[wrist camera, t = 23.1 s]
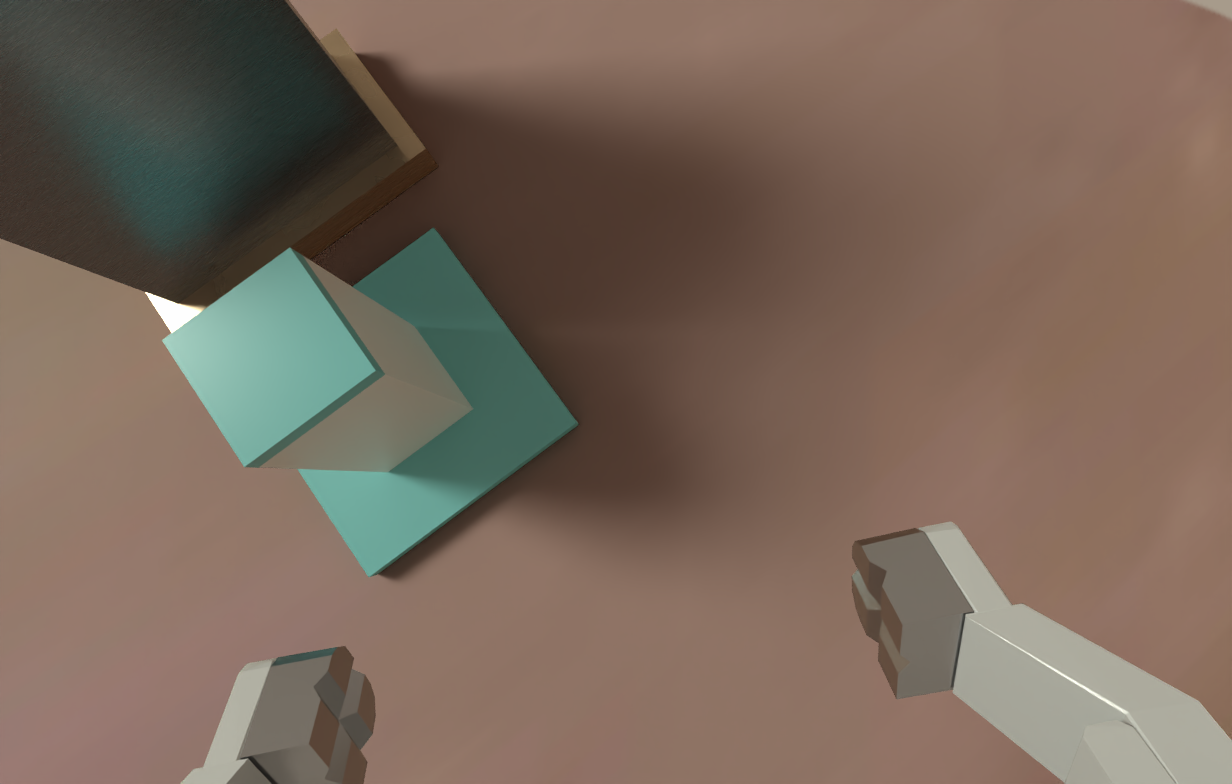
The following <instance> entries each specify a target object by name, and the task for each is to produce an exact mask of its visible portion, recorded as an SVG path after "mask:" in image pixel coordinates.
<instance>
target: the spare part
mask: <svg viewBox="0 0 1232 784" xmlns="http://www.w3.org/2000/svg"><path fill="white" fill-rule="evenodd" d="M162 341H163V343H164V344H165V346H166V347H167V349H168V350H169V352H170V353H171V355H172V356H173V358H174V359H175V361H176V363H177V364H178V366H179V367H180V369H181V370H182V372H183V373H184V375H185V376H186V378H187V379H188V381H189V383H190V384H191V386H192V387H193V389H194V390H195V392H196V393H197V395H198V396H199V398H200V400H201V401H202V403H203V404H204V406H205V407H206V409H207V410H208V412H209V413H210V415H211V416H212V418H213V420H214V421H215V423H216V424H217V426H218V427H219V429H220V430H221V432H222V433H223V435H224V437H225V438H226V440H227V441H228V443H229V444H230V446H231V447H232V449H233V450H234V452H235V453H236V455H237V457H238V458H239V460H240V461H241V463H242V464H243V466H244V467H256V468H284V469H311V470H339V471H366V472H389V471H390V470H392V469H393V468H394V467H396V466H397V465H398V464H400V463H401V462H402V461H404V460H405V459H406V458H408V457H409V456H411V455H412V454H413V453H415V452H416V451H417V450H419V449H420V448H421V447H423V446H424V445H425V444H427V443H428V442H429V441H431V440H432V439H434V438H435V437H436V436H438V435H439V434H440V433H442V432H443V431H444V430H446V429H447V428H448V427H450V426H451V425H452V424H454V423H455V422H457V421H458V420H459V419H461V418H462V417H463V416H465V415H466V414H467V413H469V412H470V411H471V410H473V408H472V406H471V405H470V403H469V402H468V401H467V399H466V398H465V396H464V395H463V394H462V392H461V391H460V389H459V388H458V387H457V385H456V384H455V382H454V381H453V380H452V378H451V377H450V375H449V374H448V373H447V371H446V370H445V368H444V367H443V366H442V364H441V363H440V361H439V360H438V358H437V357H436V356H435V354H434V353H433V351H432V350H431V349H430V347H429V346H428V344H427V343H426V342H425V340H424V339H423V337H422V336H421V335H420V333H419V332H418V330H417V329H416V328H415V326H413V325H412V324H410V323H408V322H407V321H405V320H404V319H402V318H400V317H399V316H397V315H396V314H394V313H393V312H391V311H389V310H388V309H386V308H385V307H383V306H382V305H380V304H378V303H377V302H375V301H374V300H372V299H371V298H369V297H367V296H366V295H364V294H363V293H361V292H360V291H358V290H356V289H355V288H353V287H352V286H350V285H348V284H347V283H345V282H344V281H342V280H341V279H339V278H337V277H336V276H334V275H333V274H331V273H330V272H328V271H326V270H325V269H323V268H322V267H320V266H319V265H317V264H315V263H314V262H312V261H311V260H309V259H307V258H306V257H304V256H303V255H301V254H300V253H298V252H296V251H295V250H293V249H292V248H288V249H287V250H286V251H284V252H283V253H281V254H280V255H279V256H277V257H276V258H275V259H273V260H272V261H270V262H269V263H268V264H266V265H265V266H264V267H262V268H261V269H259V270H258V271H257V272H255V273H254V274H253V275H251V276H250V277H248V278H247V279H246V280H244V281H243V282H242V283H240V284H239V285H237V286H236V287H235V288H233V289H232V290H231V291H229V292H228V293H226V294H225V295H224V296H222V297H221V298H220V299H218V300H217V301H215V302H214V303H213V304H211V305H210V306H209V307H207V308H206V309H204V310H203V311H202V312H200V313H199V314H198V315H196V316H195V317H193V318H192V319H191V320H189V321H188V322H186V323H185V324H184V325H182V326H181V327H180V328H178V329H177V330H175V331H174V332H173V333H171V334H170V335H169V336H167V337H166V338H164V339H163V340H162Z"/></svg>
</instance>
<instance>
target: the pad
mask: <svg viewBox="0 0 1232 784" xmlns="http://www.w3.org/2000/svg"><path fill="white" fill-rule="evenodd" d="M352 287H353V288H355V289H356V290H358V291H360V292H361V293H363V294H364V295H366V296H367V297H369V298H371V299H372V300H374V301H375V302H377V303H378V304H380V305H382V306H383V307H385V308H386V309H388V310H389V311H391V312H393V313H394V314H396V315H397V316H399V317H400V318H402V319H404V320H405V321H407V322H408V323H410V324H412V325H413V326H415V328H416V329H417V330H418V332H419V333H420V335H421V336H422V337H423V339H424V340H425V342H426V343H427V344H428V346H429V347H430V349H431V350H432V351H433V353H434V354H435V356H436V357H437V358H438V360H439V361H440V363H441V364H442V366H443V367H444V368H445V370H446V371H447V373H448V374H449V375H450V377H451V378H452V380H453V381H454V382H455V384H456V385H457V387H458V388H459V389H460V391H461V392H462V394H463V395H464V396H465V398H466V399H467V401H468V402H469V403H470V405H471V406H472V408H473V410H471V411H470V412H469V413H467V414H466V415H465V416H463V417H462V418H461V419H459V420H458V421H457V422H455V423H454V424H452V425H451V426H450V427H448V428H447V429H446V430H444V431H443V432H442V433H440V434H439V435H438V436H436V437H435V438H434V439H432V440H431V441H429V442H428V443H427V444H425V445H424V446H423V447H421V448H420V449H419V450H417V451H416V452H415V453H413V454H412V455H411V456H409V457H408V458H406V459H405V460H404V461H402V462H401V463H400V464H398V465H397V466H396V467H394V468H393V469H392V470H390V471H389V472H366V471H339V470H311V469H298V471H299V472H300V474H301V475H302V477H303V478H304V480H305V481H306V483H307V484H308V486H309V487H310V489H311V491H312V492H313V494H314V495H315V497H316V498H317V500H318V501H319V503H320V504H321V506H322V507H323V509H324V510H325V512H326V513H327V515H328V516H329V518H330V519H331V521H332V522H333V524H334V525H335V527H336V528H337V530H338V531H339V533H340V534H341V536H342V537H343V539H344V541H345V542H346V544H347V545H348V547H349V548H350V550H351V551H352V553H353V554H354V556H355V557H356V559H357V560H358V562H359V563H360V565H361V566H362V568H363V569H364V571H365V572H366V574H367V575H368V577H371V576H374V575H377V574H379V573H380V572H381V571H383V570H384V569H385V568H387V567H388V566H389V565H391V564H392V563H393V562H395V561H396V560H397V559H399V558H400V557H401V556H403V555H404V554H405V553H407V552H408V551H410V550H411V549H412V548H414V547H415V546H416V545H418V544H419V543H420V542H422V541H423V540H424V539H426V538H427V537H428V536H430V535H431V534H432V533H434V532H435V531H436V530H438V529H439V528H440V527H442V526H443V525H445V524H446V523H447V522H449V521H450V520H451V519H453V518H454V517H455V516H457V515H458V514H459V513H461V512H462V511H463V510H465V509H466V508H467V507H469V506H470V505H471V504H473V503H474V502H475V501H477V500H478V499H480V498H481V497H482V496H484V495H485V494H486V493H488V492H489V491H490V490H492V489H493V488H494V487H496V486H497V485H498V484H500V483H501V482H502V481H504V480H505V479H506V478H508V477H509V476H510V475H512V474H513V473H514V472H516V471H517V470H519V469H520V468H521V467H523V466H524V465H525V464H527V463H528V462H529V461H531V460H532V459H533V458H535V457H536V456H537V455H539V454H540V453H541V452H543V451H544V450H545V449H547V448H548V447H549V446H551V445H552V444H554V443H555V442H556V441H558V440H559V439H560V438H562V437H563V436H564V435H566V434H567V433H568V432H570V431H571V430H572V429H574V428H575V427H576V426H578V425H579V424H578V422H577V421H576V419H575V418H574V417H573V415H572V414H571V413H570V411H569V410H568V409H567V407H566V406H565V405H564V403H563V402H562V400H561V399H560V398H559V396H558V395H557V394H556V392H555V391H554V390H553V388H552V387H551V385H550V384H549V383H548V381H547V380H546V379H545V377H544V376H543V375H542V373H541V372H540V370H539V369H538V368H537V366H536V365H535V364H534V362H533V361H532V360H531V358H530V357H529V355H528V354H527V353H526V351H525V350H524V349H523V347H522V346H521V345H520V343H519V342H518V340H517V339H516V338H515V336H514V335H513V334H512V332H511V331H510V330H509V328H508V327H507V325H506V324H505V323H504V321H503V320H502V319H501V317H500V316H499V315H498V313H497V312H496V310H495V309H494V308H493V306H492V305H491V304H490V302H489V301H488V300H487V298H486V297H485V295H484V294H483V293H482V291H481V290H480V289H479V287H478V286H477V285H476V283H475V282H474V281H473V279H472V278H471V276H470V275H469V274H468V272H467V271H466V270H465V268H464V267H463V266H462V264H461V263H460V261H459V260H458V259H457V257H456V256H455V255H454V253H453V252H452V251H451V249H450V248H449V246H448V245H447V244H446V242H445V241H444V240H443V238H442V237H441V236H440V234H439V233H438V232H437V231H436V230H435V229H434V227H433V228H432V229H431V230H429V231H428V232H426V233H425V234H424V235H422V236H421V237H420V238H418V239H417V240H416V241H414V242H413V243H411V244H410V245H409V246H407V247H406V248H405V249H403V250H402V251H400V252H399V253H398V254H396V255H395V256H394V257H392V258H391V259H389V260H388V261H387V262H385V263H384V264H383V265H381V266H380V267H379V268H377V269H376V270H374V271H373V272H372V273H370V274H369V275H368V276H366V277H365V278H363V279H362V280H361V281H359V282H358V283H357V284H355V285H354V286H352Z"/></svg>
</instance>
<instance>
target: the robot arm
mask: <svg viewBox="0 0 1232 784" xmlns="http://www.w3.org/2000/svg"><path fill="white" fill-rule="evenodd" d="M852 558H853V560H854V562H855V565H856V567H857V569H858V570H857V571H856V572H855V573H854V574H853V576H852V593H853V598H854V602H855V607H856V610H857V613H858V616H859V619H860V621H861V624H862V626H863V628H864V630H865V633H866V635H867V636H869V637H870V638H872V639H873V640H875V641H876V642H878V643H879V651H878V661H879V663H880V665H881V667H882V670H883V672H884V674H885V676H886V678H887V680H888V682H889V685H890V687H891V689H892V691H893V693H894V695H895V697H896V699H900V698H906V697H912V696H918V695H924V694H930V693H936V692H942V691H948V690H953V693H954V694H955V695H956V696H958V697H959V698H960V699H961V700H962V701H964V702H965V703H966V704H967V705H969V706H970V707H971V708H972V709H974V710H975V711H976V712H977V713H979V714H980V715H981V716H982V717H984V718H985V719H986V720H987V721H989V722H990V723H991V724H992V725H994V726H995V727H996V728H997V729H998V730H1000V731H1001V732H1002V733H1003V734H1005V735H1006V736H1007V737H1008V738H1010V739H1011V740H1012V741H1013V742H1015V743H1016V744H1017V745H1018V746H1020V747H1021V748H1022V749H1023V750H1025V751H1026V752H1027V753H1028V754H1030V755H1031V756H1032V757H1033V758H1034V759H1036V760H1037V761H1038V762H1039V763H1041V764H1042V765H1043V766H1044V767H1046V768H1047V769H1048V770H1049V771H1051V772H1052V773H1053V774H1054V775H1056V776H1057V777H1058V778H1059V779H1061V780H1062V781H1063V782H1064V784H1232V740H1231V739H1230V738H1229V737H1228V736H1227V734H1226V733H1225V732H1224V731H1223V730H1222V728H1221V727H1220V726H1219V725H1218V724H1217V722H1216V721H1215V720H1214V719H1213V718H1212V716H1211V715H1210V714H1209V713H1208V712H1207V710H1206V709H1205V708H1204V707H1203V706H1202V704H1201V703H1200V702H1199V701H1197V700H1196V699H1194V698H1192V697H1190V696H1188V695H1187V694H1185V693H1183V692H1181V691H1179V690H1178V689H1176V688H1174V687H1172V686H1170V685H1169V684H1167V683H1165V682H1163V681H1161V680H1160V679H1158V678H1156V677H1154V676H1152V675H1151V674H1149V673H1147V672H1145V671H1143V670H1142V669H1140V668H1138V667H1136V666H1134V665H1133V664H1131V663H1129V662H1127V661H1125V660H1124V659H1122V658H1120V657H1118V656H1116V655H1115V654H1113V653H1111V652H1109V651H1107V650H1106V649H1104V648H1102V647H1100V646H1098V645H1097V644H1095V643H1093V642H1091V641H1089V640H1088V639H1086V638H1084V637H1082V636H1080V635H1079V634H1077V633H1075V632H1073V631H1071V630H1070V629H1068V628H1066V627H1064V626H1062V625H1061V624H1059V623H1057V622H1055V621H1053V620H1052V619H1050V618H1048V617H1046V616H1044V615H1043V614H1041V613H1039V612H1037V611H1035V610H1034V609H1032V608H1030V607H1028V606H1026V605H1025V604H1023V603H1022V604H1016V605H1012V603H1011V602H1010V601H1009V599H1008V598H1007V596H1006V595H1005V593H1004V592H1003V590H1002V589H1001V588H1000V586H999V585H998V583H997V582H996V580H995V579H994V578H993V576H992V575H991V573H990V572H989V570H988V569H987V567H986V566H985V565H984V563H983V562H982V560H981V559H980V557H979V556H978V555H977V553H976V552H975V550H974V549H973V547H972V546H971V544H970V543H969V542H968V540H967V539H966V537H965V536H964V534H963V533H962V532H961V530H960V529H959V527H958V526H957V525H956V524H954V523H953V522H946V523H941V524H936V525H931V526H926V527H921V528H918V529H916V528H913V529H908V530H904V531H899V532H894V533H890V534H885V535H881V536H876V537H871V538H867V539H862V540H858V541H855V542H854V544H853V546H852ZM353 660H354V657H353V656H352V655H351V653H350V652H349V651H348V649H347V648H346V647H345V646H342V647H335V648H330V649H324V650H318V651H313V652H307V653H301V654H295V655H290V656H284V657H278V658H273V659H268V660H263V661H258V662H253V663H247V664H246V665H245V666H244V668H243V669H242V670H241V671H240V672H239V674H238V676H237V679H236V681H235V684H234V686H233V689H232V692H231V694H230V697H229V700H228V702H227V705H226V708H225V710H224V713H223V716H222V718H221V721H220V724H219V726H218V729H217V732H216V734H215V737H214V740H213V742H212V745H211V748H210V750H209V753H208V756H207V758H206V761H205V764H204V766H203V767H200V768H196V769H193V770H192V772H191V773H190V774H189V775H188V776H187V777H186V778H185V779H184V780H183V781H182V782H181V783H180V784H363V783H364V778H365V773H366V767H367V760H366V759H365V757H364V755H363V754H362V752H361V748H362V747H363V746H364V745H365V743H366V742H367V741H368V739H369V738H370V737H371V735H372V734H373V729H374V723H375V717H376V713H375V696H374V693H373V690H372V687H371V684H370V682H369V680H368V679H367V677H366V676H365V674H362V673H360V672H358V671H355V670H353V669H352V665H353Z"/></svg>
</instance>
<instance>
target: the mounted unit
mask: <svg viewBox="0 0 1232 784" xmlns="http://www.w3.org/2000/svg"><path fill="white" fill-rule="evenodd" d="M437 167H438V165H437V164H436V162H435V161H434V159H433V158H432V157H431V155H430V154H429V152H428V151H427V149H426V148H425V147H424V145H423V144H422V143H421V141H420V140H419V139H418V137H417V136H416V135H415V133H414V132H413V131H412V129H411V128H410V127H409V125H408V124H407V123H406V121H405V120H404V119H403V117H402V116H401V115H400V113H399V112H398V111H397V109H396V108H395V107H394V105H393V104H392V103H391V101H390V100H389V99H388V97H387V96H386V94H385V93H384V92H383V90H382V89H381V88H380V86H379V85H378V84H377V82H376V81H375V80H374V78H373V77H372V76H371V74H370V73H369V72H368V70H367V69H366V68H365V66H364V65H363V64H362V62H361V61H360V60H359V58H358V57H357V56H356V54H355V53H354V52H353V50H352V49H351V48H350V46H349V45H348V44H347V42H346V41H345V40H344V38H343V37H342V36H341V34H340V33H339V32H338V30H337V29H335V30H334V31H332V32H331V33H330V34H328V35H327V36H325V37H324V38H323V39H321V40H319V39H318V38H317V36H316V35H315V34H314V32H313V31H312V30H311V29H310V27H309V26H308V25H307V23H306V22H305V21H304V19H303V18H302V17H301V16H300V14H299V13H298V12H297V10H296V9H295V8H294V6H293V5H292V4H291V3H290V1H289V0H0V238H1V239H3V240H6V241H9V242H12V243H14V244H17V245H20V246H22V247H25V248H28V249H31V250H33V251H36V252H39V253H41V254H44V255H47V256H49V257H52V258H55V259H58V260H60V261H63V262H66V263H68V264H71V265H74V266H77V267H79V268H82V269H85V270H87V271H90V272H93V273H95V274H98V275H101V276H104V277H106V278H109V279H112V280H114V281H117V282H120V283H123V284H125V285H128V286H131V287H133V288H136V289H139V290H141V291H144V292H146V294H147V295H148V297H149V298H150V300H151V301H152V303H153V305H154V306H155V308H156V309H157V311H158V312H159V314H160V315H161V317H162V318H163V320H164V321H165V323H166V325H167V326H168V328H169V329H170V331H171V332H172V333H173V332H174V331H175V330H177V329H178V328H180V327H181V326H182V325H184V324H185V323H186V322H188V321H189V320H191V319H192V318H193V317H195V316H196V315H198V314H199V313H200V312H202V311H203V310H204V309H206V308H207V307H209V306H210V305H211V304H213V303H214V302H215V301H217V300H218V299H220V298H221V297H222V296H224V295H225V294H226V293H228V292H229V291H231V290H232V289H233V288H235V287H236V286H237V285H239V284H240V283H242V282H243V281H244V280H246V279H247V278H248V277H250V276H251V275H253V274H254V273H255V272H257V271H258V270H259V269H261V268H262V267H264V266H265V265H266V264H268V263H269V262H270V261H272V260H273V259H275V258H276V257H277V256H279V255H280V254H281V253H283V252H284V251H286V250H287V249H288V248H292V249H293V250H295V251H296V252H298V253H300V254H301V255H303V256H304V257H306V258H307V259H309V260H310V259H312V258H313V257H315V256H316V255H317V254H319V253H320V252H321V251H323V250H324V249H326V248H327V247H328V246H330V245H331V244H332V243H334V242H335V241H337V240H338V239H339V238H341V237H342V236H343V235H345V234H346V233H348V232H349V231H350V230H352V229H353V228H354V227H356V226H357V225H359V224H360V223H361V222H363V221H364V220H365V219H367V218H368V217H370V216H371V215H372V214H374V213H375V212H376V211H378V210H379V209H381V208H382V207H383V206H385V205H386V204H388V203H389V202H390V201H392V200H393V199H394V198H396V197H397V196H399V195H400V194H401V193H403V192H404V191H405V190H407V189H408V188H410V187H411V186H412V185H414V184H415V183H416V182H418V181H419V180H421V179H422V178H423V177H425V176H426V175H427V174H429V173H430V172H432V171H433V170H434V169H436V168H437Z"/></svg>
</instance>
